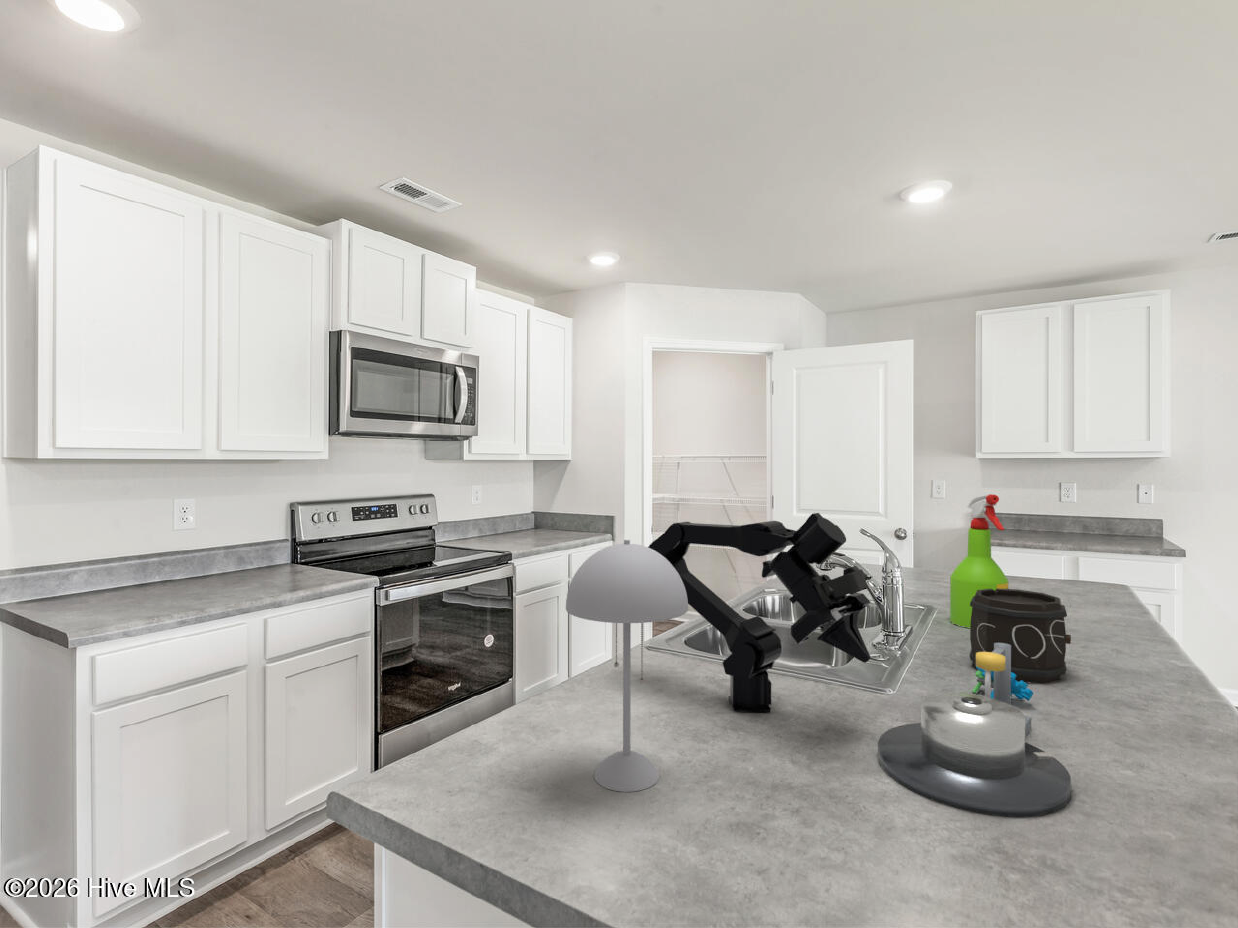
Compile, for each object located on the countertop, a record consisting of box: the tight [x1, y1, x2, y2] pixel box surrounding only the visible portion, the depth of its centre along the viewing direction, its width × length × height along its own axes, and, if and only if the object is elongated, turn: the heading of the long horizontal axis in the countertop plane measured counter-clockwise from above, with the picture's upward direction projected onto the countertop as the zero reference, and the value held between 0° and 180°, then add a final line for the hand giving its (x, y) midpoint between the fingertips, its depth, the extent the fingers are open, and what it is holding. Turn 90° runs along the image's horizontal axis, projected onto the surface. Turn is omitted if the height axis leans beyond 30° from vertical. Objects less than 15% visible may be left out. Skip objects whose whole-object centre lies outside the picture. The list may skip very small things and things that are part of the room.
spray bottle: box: [949, 493, 1009, 628], centre depth 174 cm, size 14×18×35 cm
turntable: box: [877, 722, 1072, 818], centre depth 94 cm, size 24×24×2 cm
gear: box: [971, 666, 1034, 702], centre depth 121 cm, size 11×6×10 cm
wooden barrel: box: [969, 588, 1072, 685], centre depth 138 cm, size 18×18×16 cm
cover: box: [920, 691, 1026, 780], centre depth 94 cm, size 13×13×8 cm
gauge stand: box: [976, 643, 1032, 738], centre depth 106 cm, size 13×7×14 cm, turn 137°
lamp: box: [565, 539, 689, 793], centre depth 92 cm, size 17×17×33 cm
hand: (868, 660), depth 104 cm, fingers closed
